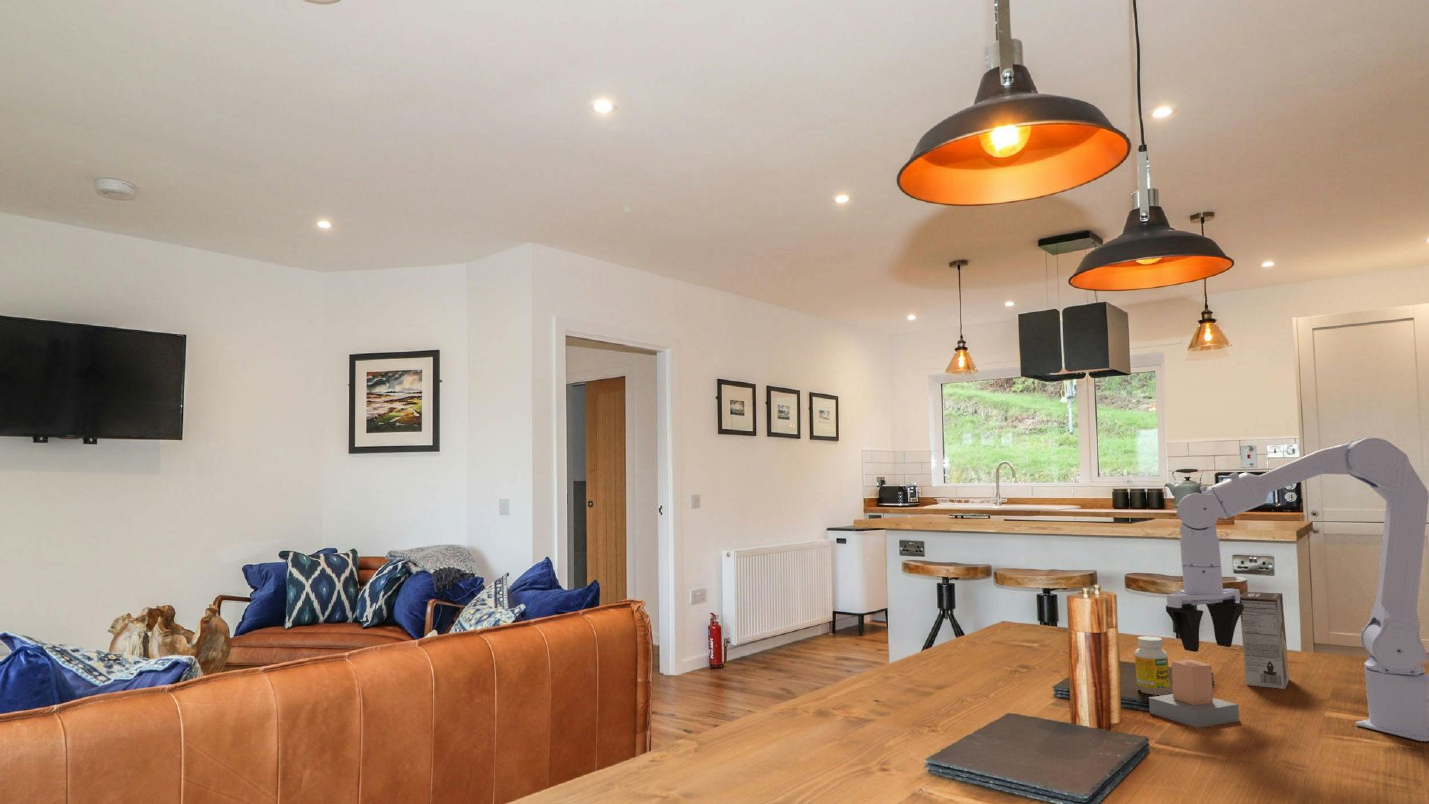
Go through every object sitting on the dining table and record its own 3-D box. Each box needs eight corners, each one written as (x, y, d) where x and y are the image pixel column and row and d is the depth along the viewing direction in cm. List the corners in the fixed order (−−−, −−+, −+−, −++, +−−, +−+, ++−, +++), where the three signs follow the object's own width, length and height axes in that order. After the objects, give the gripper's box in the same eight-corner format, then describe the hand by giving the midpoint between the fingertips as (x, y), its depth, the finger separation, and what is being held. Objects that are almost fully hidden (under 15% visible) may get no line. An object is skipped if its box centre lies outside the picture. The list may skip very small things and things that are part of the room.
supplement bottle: (1147, 687, 157) (1143, 634, 158) (1176, 692, 152) (1172, 638, 153) (1131, 691, 154) (1127, 637, 155) (1160, 697, 149) (1156, 642, 150)
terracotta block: (1213, 702, 136) (1211, 664, 137) (1193, 705, 135) (1192, 667, 136) (1191, 696, 140) (1190, 659, 141) (1173, 698, 139) (1171, 661, 139)
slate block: (1239, 723, 135) (1238, 704, 135) (1197, 730, 132) (1196, 711, 132) (1190, 709, 143) (1189, 691, 144) (1150, 716, 140) (1148, 697, 140)
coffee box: (1250, 675, 164) (1243, 590, 165) (1290, 679, 160) (1283, 592, 161) (1245, 685, 156) (1238, 596, 158) (1286, 689, 152) (1279, 599, 154)
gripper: (1210, 560, 148) (1217, 640, 147) (1149, 566, 143) (1155, 648, 142) (1248, 564, 142) (1255, 647, 141) (1185, 570, 136) (1192, 656, 135)
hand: (1207, 648), depth 141 cm, fingers open, 7 cm apart
